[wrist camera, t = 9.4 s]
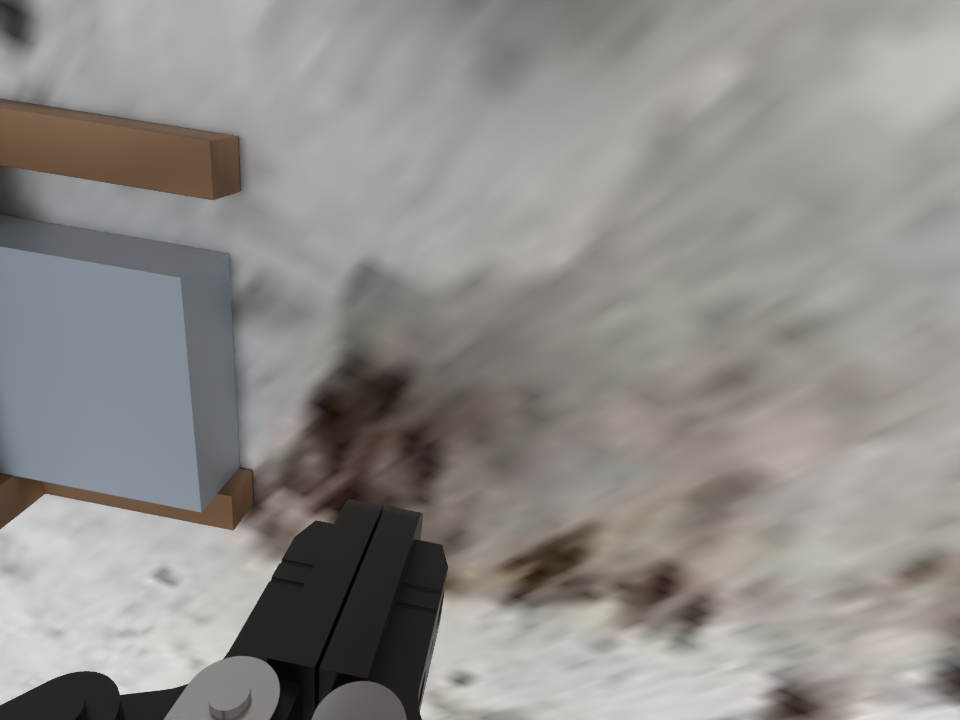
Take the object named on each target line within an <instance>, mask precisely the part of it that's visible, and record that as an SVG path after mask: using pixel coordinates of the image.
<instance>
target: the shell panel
mask: <svg viewBox="0 0 960 720" xmlns="http://www.w3.org/2000/svg"><path fill="white" fill-rule="evenodd" d="M239 467H240V452H239V433H238V414H237V395H236V375H235V356H234V337H233V318H232V299H231V279H230V260H229V253H224V252H218V251H212V250H206V249H200V248H195V247H189V246H183V245H177V244H171V243H165V242H159V241H153V240H147V239H141V238H136V237H130V236H124V235H118V234H112V233H106V232H100V231H94V230H88V229H82V228H77V227H71V226H65V225H59V224H53V223H47V222H41V221H35V220H29V219H24V218H18V217H12V216H6V215H0V473H3V474H8V475H13V476H18V477H24V478H29V479H34V480H39V481H44V482H49V483H54V484H59V485H64V486H69V487H74V488H79V489H85V490H90V491H95V492H100V493H105V494H110V495H115V496H120V497H125V498H130V499H135V500H140V501H146V502H151V503H156V504H161V505H166V506H171V507H176V508H181V509H186V510H191V511H196V512H202V511H203V510H204V509H205V508H206V506H207V505H208V504H209V503H210V502H211V500H212V499H213V498H214V497H215V496H216V495H217V493H218V492H219V491H220V490H221V489H222V488H223V486H224V485H225V484H226V483H227V482H228V480H229V479H230V478H231V477H232V476H233V475H234V473H235V472H236V471H237V470H238V469H239Z"/></svg>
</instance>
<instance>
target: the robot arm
mask: <svg viewBox="0 0 960 720" xmlns="http://www.w3.org/2000/svg"><path fill="white" fill-rule="evenodd" d="M422 519H423V514H422V513H419V512H414V511H409V510H404V509H398V508H393V507H388V506H387V507H386V508H385V506H382V505H377V504H371V503H366V502H361V501H356V500H350V499H349V500H347V501H346V503H345V505H344V506H343V508H342V510H341V512H340V514H339V516H338V518H337V520H336V522H335V524H331V523H326V522H321V521H315V522H313V523H312V524H311V525H310V526H308V527H307V528H306V529H305V530H303V531H302V532H301V533H299V534H298V535H297V536H296V537H295V538H294V539H293V541H292V543H291V545H290V546H289V548H288V550H287V552H286V553H285V555H284V557H283V559H282V562H281V563H280V564H279V565H278V567H277V569H276V571H275V572H274V574H273V576H272V579H271V582H269V583H268V585H267V586H266V588H265V590H264V592H263V593H262V595H261V597H260V598H259V600H258V602H257V604H256V605H255V607H254V609H253V611H252V612H251V614H250V616H249V618H248V619H247V621H246V623H245V625H244V626H243V628H242V630H241V632H240V633H239V635H238V637H237V638H236V640H235V642H234V644H233V645H232V647H231V649H230V650H229V652H228V653H227V655H226V656H225V658H224V659H222V660H220V661H217V662H215V663H213V664H211V665H210V666H208V667H206V668H205V669H203V670H202V671H201V672H199V673H198V674H197V675H196V676H195V677H194V678H193V679H192V680H191V682H190V683H189V684H186V685H184V686H180V687H177V688H173V689H167V690H160V691H151V692H143V693H134V694H126V695H120V694H119V691H118V688H117V686H116V684H115V683H114V681H112V680H111V679H110V678H109V677H107V676H105V675H103V674H101V673H97V672H89V671H84V672H75V673H70V674H66V675H63V676H60V677H57V678H55V679H52V680H50V681H48V682H46V683H44V684H42V685H40V686H38V687H36V688H34V689H32V690H30V691H28V692H26V693H24V694H22V695H20V696H18V697H16V698H14V699H12V700H10V701H8V702H6V703H4V704H2V705H0V720H422V719H421V716H420V708H421V703H422V699H423V695H424V690H425V686H426V681H427V677H428V672H429V667H430V664H431V659H432V655H433V650H434V645H435V641H436V637H437V633H438V628H439V624H440V618H441V611H442V605H443V598H444V591H445V584H446V577H447V570H448V565H447V562H446V558H445V554H444V550H443V546H442V545H440V544H435V543H430V542H425V541H420V537H421V528H422Z"/></svg>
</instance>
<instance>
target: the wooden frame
mask: <svg viewBox="0 0 960 720" xmlns="http://www.w3.org/2000/svg"><path fill="white" fill-rule="evenodd" d="M0 165H3V166H9V167H15V168H21V169H27V170H34V171H40V172H46V173H52V174H58V175H64V176H70V177H76V178H82V179H88V180H94V181H100V182H106V183H112V184H118V185H124V186H131V187H137V188H143V189H149V190H155V191H161V192H167V193H173V194H179V195H185V196H191V197H197V198H203V199H209V200H215V199H218V198H221V197H224V196H227V195H230V194H233V193H236V192H239V191H240V167H239V143H238V136H232V135H226V134H219V133H213V132H207V131H200V130H194V129H188V128H181V127H175V126H169V125H163V124H156V123H150V122H144V121H137V120H131V119H125V118H118V117H112V116H106V115H99V114H93V113H87V112H80V111H74V110H68V109H61V108H55V107H49V106H43V105H36V104H30V103H24V102H17V101H11V100H5V99H0ZM45 493H46V494H51V495H56V496H61V497H66V498H71V499H76V500H82V501H87V502H92V503H97V504H102V505H107V506H112V507H117V508H122V509H127V510H132V511H138V512H143V513H148V514H153V515H158V516H163V517H168V518H173V519H178V520H183V521H188V522H194V523H199V524H204V525H209V526H214V527H219V528H224V529H229V530H234V529H235V528H236V526H237V525H238V524H239V522H240V521H241V519H242V518H243V517H244V515H245V514H246V513H247V511H248V510H249V509H250V507H251V506H252V504H253V480H252V471H251V470H246V469H241V468H239V469H238V470H237V471H236V472H235V473H234V475H233V476H232V477H231V478H230V479H229V480H228V482H227V483H226V484H225V485H224V486H223V488H222V489H221V490H220V491H219V492H218V493H217V495H216V496H215V497H214V498H213V499H212V500H211V502H210V503H209V504H208V505H207V506H206V508H205V509H204V510H203V511H202V512H196V511H191V510H186V509H181V508H176V507H171V506H166V505H161V504H156V503H151V502H146V501H140V500H135V499H130V498H125V497H120V496H115V495H110V494H105V493H100V492H95V491H90V490H85V489H79V488H74V487H69V486H64V485H59V484H54V483H49V482H44V481H39V480H34V479H29V478H24V477H18V476H13V475H8V474H3V473H0V529H1V528H2V527H4V526H5V525H6V524H8V523H9V522H10V521H11V520H13V519H14V518H15V517H16V516H18V515H19V514H20V513H21V512H23V511H24V510H25V509H26V508H28V507H29V506H30V505H31V504H33V503H34V502H35V501H37V500H38V499H39V498H40V497H42V496H43V495H44V494H45Z"/></svg>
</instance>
